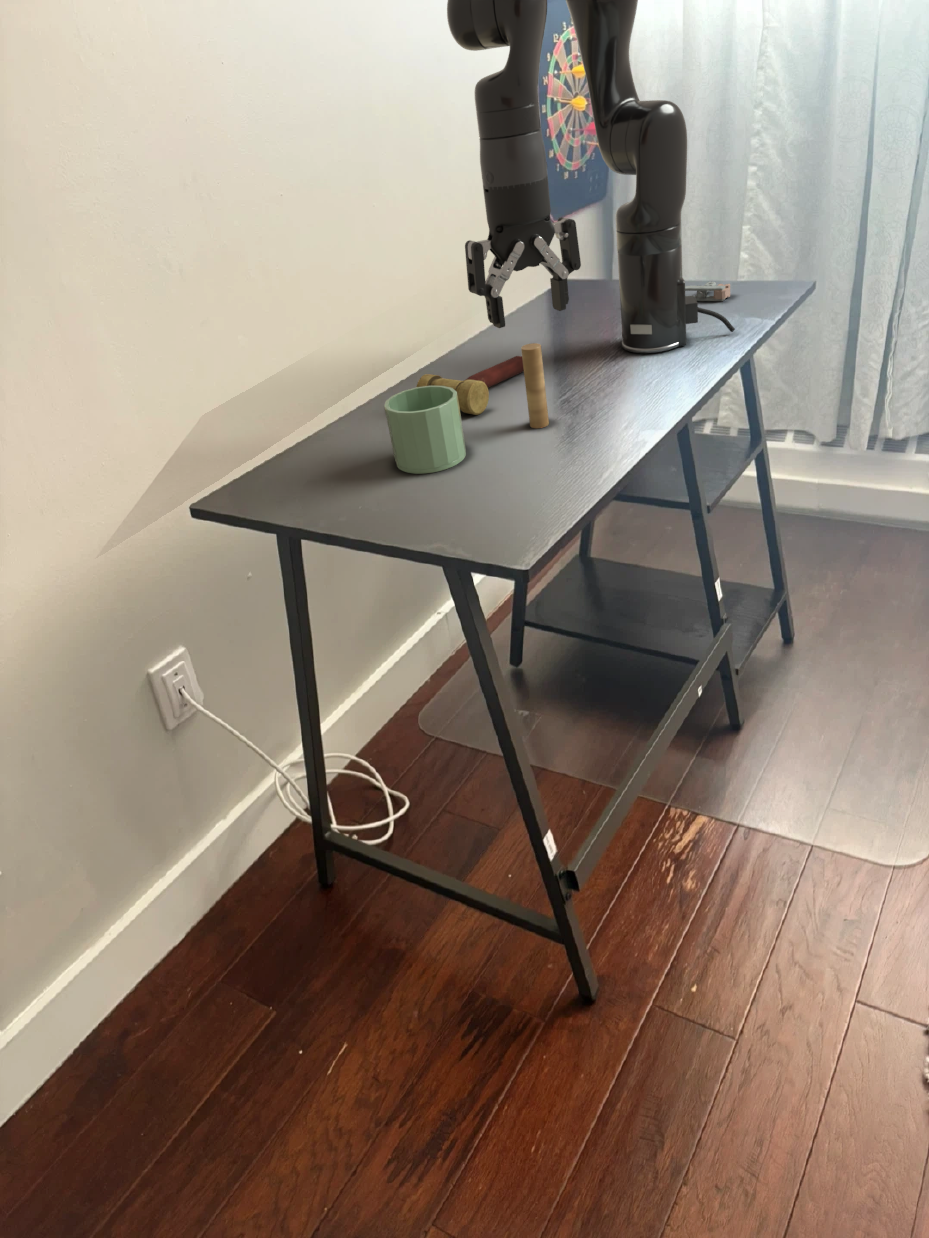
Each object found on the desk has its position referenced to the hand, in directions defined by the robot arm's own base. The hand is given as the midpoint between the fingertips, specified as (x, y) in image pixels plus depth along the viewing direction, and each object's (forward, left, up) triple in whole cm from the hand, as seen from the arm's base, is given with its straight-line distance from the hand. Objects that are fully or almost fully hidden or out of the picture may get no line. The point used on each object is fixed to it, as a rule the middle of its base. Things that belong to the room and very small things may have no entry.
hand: (529, 318), depth 119 cm
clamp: (-25, -49, -14) cm, 57 cm away
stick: (0, 0, -14) cm, 14 cm away
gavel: (+7, -16, -14) cm, 23 cm away
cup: (+14, +7, -14) cm, 21 cm away
